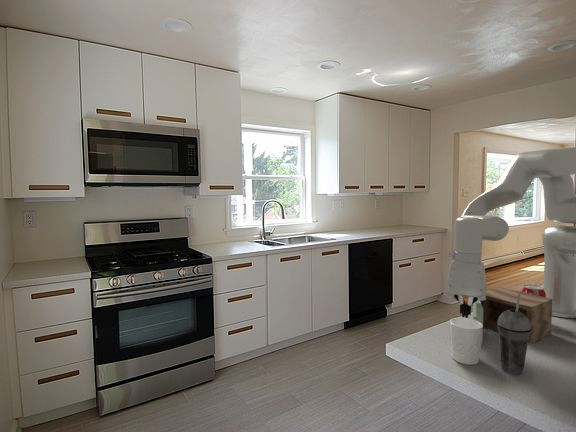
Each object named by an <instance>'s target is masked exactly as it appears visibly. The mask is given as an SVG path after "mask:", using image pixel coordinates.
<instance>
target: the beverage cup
mask: <svg viewBox="0 0 576 432" xmlns="http://www.w3.org/2000/svg"><path fill="white" fill-rule="evenodd" d="M520 295H521V293H518V298H517V305H516V310H507V311H504V312H503V313H502V314H501V315H500V316H499V318H498V322H497V326H498V332H499V333H498V338H499V339H498V340H499V353H500V363H501V370H502V372H504V373H506V374H508V375H512V376H517V377H519V376H522V375H523V373H524V369H525V363H526V357H527V356H526V355H527V350H528V344H529V343H528V338H529V336H530V331H531V325H530V322H529V320H528V318H527V317H526V316H525V315H524V314H523V313H522V312H520V311H518V308H519V302H520Z"/></svg>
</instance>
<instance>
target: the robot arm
mask: <svg viewBox="0 0 576 432" xmlns="http://www.w3.org/2000/svg"><path fill="white" fill-rule="evenodd" d="M572 175H576V146H573V147H572V146H570V147H560V148H559V147H558V148H549V149H547V148H546V149H538V150H534V151H533V150H532V151H524V152H519V153H517V154H516V155H514V156H512V158H511V160H510V161H509V163H508V164H507V166H506V168H505V169H504V170H503V172H502V173H501V176H500V177H499V178H498V180H497V182H496V183H495V185H494V186H492V187H491V188H490V189H487V190H485V191H484V192H483V193H482V194H480V195H479V196H477V197H475V198H474V199H473V200H472V201H471V202H470V203H469V204H468V206H467V207H466V208H465V210H464V211H463V213H462V215H461V216H460V217H457V218H455V222H454V241H453V243H454V245H453V246H454V248H453V251H452V252H451V251H450V252H448V257H450V258H452V260H451V261H450V264H449V268H448V269H449V270H448V275H447V277H448V278H447V291H446V295H447V296H449V297H451V298H454V299H456V302H458V304H459V314H461V318H469V316H471V315H472V306H473V303H475V302H476V301H484V300H486V296H485V291H486V269H485V264H484V263H483V262H482V258H483V257H482V255H483V254H482V253H483V241H491V242H498V241H501V240H503V239H505V237H506V236H507V235H508V234H509V230H510V229H509V228H510V227H509V224H508V222H507V221H506V220H505V219H504V218H501V217H498V216H493V215H487V214H488V213H490V212H491V211H493V210H496V209H500V208H502V207H507V206H509V205H512V204H514V203H517V202H519V201H520V200H522V199H523V198H524V197H525V194H526V193H527V191H528V189H529V187H530V186H531V184H532V182H533V181H534V179H538V180H539V181H540V183H541V185H542V190H543V202H544V210H545V211H544V212H545V215H546V218H547V220H548V221H550V222H555V223H563V224H565V225H562V224H557V225H555V224H554V225H550V226H547V227H546V228H545V229H543V231H542V232H543V233H542V234H541V235H542V236H541V238H542V239H541V240H542V245H543V253H544V265H543V267H544V268H543V286H542V287H543V288H544V291H545V293H546V298H550V299H553V300H552V317H557V318H558V317H559V318H566V319H567V318H568V319H576V259H575V258H576V257H574V255H576V226H575V225H576V192H575V184H574V179H573V177H572ZM566 224H573V225H566ZM574 224H575V225H574ZM465 297H468V298H467V299H468V300H467V301H466V300H465Z"/></svg>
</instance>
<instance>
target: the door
mask: <svg viewBox="0 0 576 432" xmlns="http://www.w3.org/2000/svg"><path fill="white" fill-rule="evenodd" d="M472 319H473V320H476V321H478V322H480V323H482V325H483V307H482V305H481V302H480V301H476V302H475V303H473V304H472ZM483 334H484V330H483V331H482V342H481V346H483V340H484V339H483Z"/></svg>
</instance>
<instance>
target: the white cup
mask: <svg viewBox="0 0 576 432" xmlns="http://www.w3.org/2000/svg"><path fill="white" fill-rule="evenodd" d="M482 331H483V332H484V328H483V325H482V323H480V322H478V321H476V320H473V318H469V317H468V318H466V317H453V318H451V319H449V332H450V333H449V335H450V338H449V339H450V353H451V354H450V356H451V358H452V359H453V360H454V361H455V362H456V363H457V362H458V363H460V364H463V365H470V366H471V365H477V364H479V362H480V354H481V348H482V345H481V342H482V343H483V340H482Z"/></svg>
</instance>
